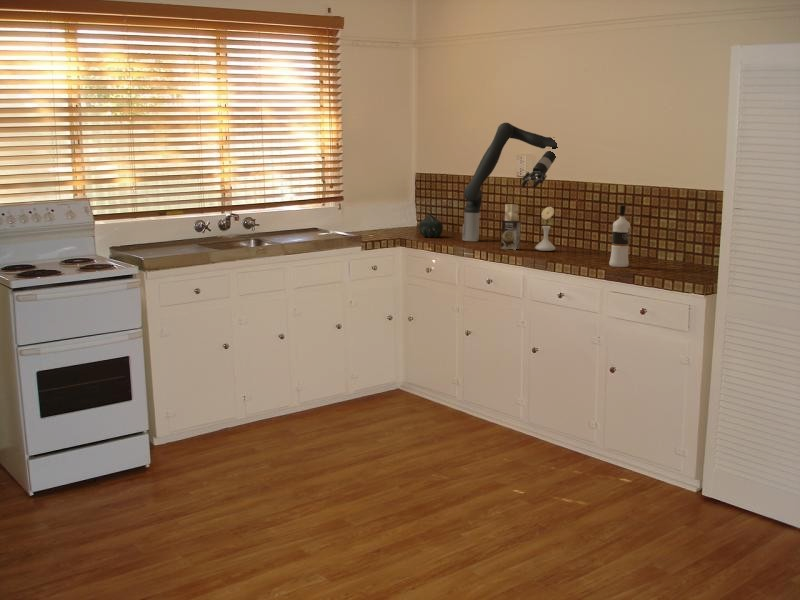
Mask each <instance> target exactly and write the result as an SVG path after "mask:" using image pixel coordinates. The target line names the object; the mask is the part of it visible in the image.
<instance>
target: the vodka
mask: <svg viewBox="0 0 800 600" xmlns="http://www.w3.org/2000/svg"><path fill="white" fill-rule="evenodd" d="M630 228H631V223H630V222H629V220H627V219H626V205H624V204H620V205H619V217H618V219H616V220H615V221H613V223H612V239H611V253H610V259H609V262H608V264H609V266H610V267H614V268H627V267H628V266H629V248H630V246H629V245H630V232H631V229H630Z"/></svg>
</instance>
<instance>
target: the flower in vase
mask: <svg viewBox="0 0 800 600" xmlns="http://www.w3.org/2000/svg"><path fill="white" fill-rule="evenodd" d="M554 214H555V209H554V207H552V206H547V207H545V208H544V209H543V210H542V212H541V218H542V221H543V223H545V224H547V225H542V226H541V227H542V230H543V238H542V239H541V241H540V242H539V243H537V244H536V245H535V246H534V249H535V250H536V251H540V252H541V251H543V252H551V251H555V250H556V247H555V245H554V244H553V243H552V242H551V241H550V240H549V237H548V236H549V232H550V228H551V227H552V226H551V225H555V222H554V220H550V219H551V218H552V217H553V216H554ZM548 219H549V221H548V222H546V221H545V220H548ZM549 225H550V226H549Z"/></svg>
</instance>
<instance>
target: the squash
mask: <svg viewBox="0 0 800 600" xmlns="http://www.w3.org/2000/svg"><path fill="white" fill-rule="evenodd" d="M418 231H419V234H420V235H422V236H423V237H424V238H429V237H431V238H433V237H435V238H439V237H440V236H441V235H442V233H443V225H442V222H441V221H440V219H438V218H437V217H435V216H434V215H432V214H427V215H426V216H425V217H424V218H423V219H422V220H421V221H420V223H419V225H418Z"/></svg>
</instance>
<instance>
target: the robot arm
mask: <svg viewBox="0 0 800 600" xmlns="http://www.w3.org/2000/svg"><path fill="white" fill-rule="evenodd" d="M509 139H514V140H518V141H521V142H524V143H526V144H528V145H530V146H533V147H536V148H540V149H543V150H544V149H545V148H546V147H548V148H550V147H552V149H556V148H558V147H557V143H556V142H555V140H553V139H552V138H551V136H549V137H548V136H544V135H541V134H539V133H534V132H531V131H526V130H524V129H522V128H519V127H517V126H514V125H513V124H511V123H509V122H502V123H501V124H500V125H498V126H497V129H496V133H495V134H494V137H493V140H492V142H490V145H489V146H488V147H487V149H486V150H485V153H484V154H483V156H482V158H481V160H480V162H479V163H478V166H477V168H476V170H475V172H474V174H473V175H472V178H471V180H470V181H469V182H468V184H467V185H466V187H465V188H464V191H463V198H464V199H465V201H466V205H465V207H464V214H463V217H464V218H463V224H462V232H461V233H462V236H461V238H462V239H461V240H462V241H465V242H479V236H480V233H479V232H480V216H481V215H480V213H481V207H482V196H483V195H482V194H483V193H482V189H481V188H482V186H483V184H484V183H485V181H486V180H487V179H488V178H489V176H490V175H491V174H492V173H493V171H494V170H495V168H496V165H497V164H498V163H499V160H500V157H501V154H502V153H503V152H502V151H503V149H504V147H505V145H506V144H507V142H509ZM555 158H556V156H555V154H554V153H553V152H551V151H545V153H544V154H543V155H542V156H541V158H539V160H538V161H537V162H536V164H535V165H534V167H533V168H532V172H529V171H527V172H526V173H525V175H524V176H523V177H522V178H521V179H522V183H521V187H522V188H525V187H526V185H527V184H528V183H529V182H530V183H531V182H532V181H534V182H533V184H532V188H533V189H536V188H537V187H538V185H540V184H543V183H544V182H545V179H546V178H547V177H548V176H547V172H548V171H549V170H550V168H551V166H552V164H553V163H554V162H555V161H556V159H557V158H556V159H555Z"/></svg>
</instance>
